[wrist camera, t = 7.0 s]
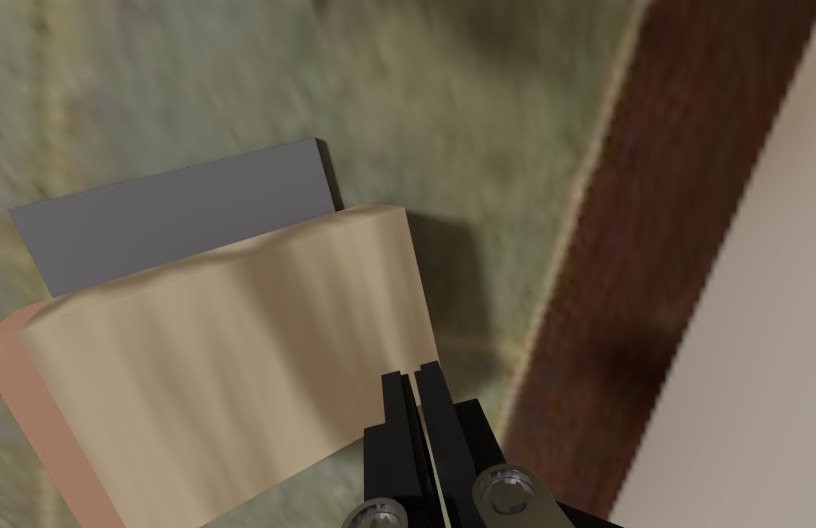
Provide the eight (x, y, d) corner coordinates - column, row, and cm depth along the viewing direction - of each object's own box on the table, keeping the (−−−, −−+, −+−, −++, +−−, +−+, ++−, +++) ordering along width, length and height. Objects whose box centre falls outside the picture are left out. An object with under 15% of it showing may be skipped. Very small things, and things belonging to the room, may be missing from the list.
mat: (315, 137, 20) (314, 137, 19) (393, 418, 25) (394, 423, 24) (14, 208, 19) (7, 209, 19) (154, 481, 24) (150, 486, 24)
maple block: (404, 206, 17) (-29, 346, 12) (446, 390, 20) (110, 576, 14) (366, 202, 21) (18, 308, 15) (406, 360, 24) (123, 500, 18)
